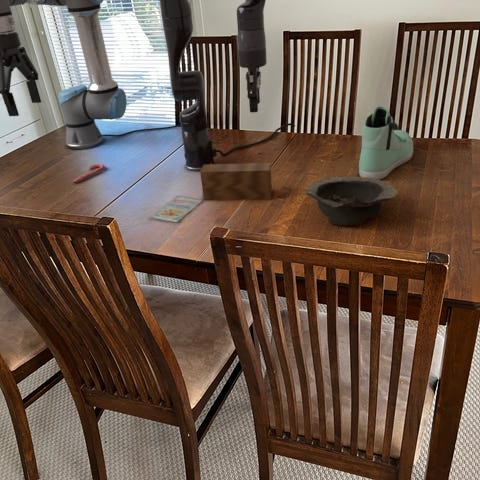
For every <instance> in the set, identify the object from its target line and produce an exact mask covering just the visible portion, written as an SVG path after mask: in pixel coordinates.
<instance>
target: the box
mask: <svg viewBox="0 0 480 480" xmlns="http://www.w3.org/2000/svg"><path fill="white" fill-rule="evenodd" d="M271 166H272V163H271V162H253V163H251V162H250V163H247V162H246V163H214V164H207V165H203V167H202V169H201V170H200V173H199V174H200V180H201V187H202V198H203V201H244V200H245V201H247V200H249V201H250V200H251V201H253V200H256V201H257V200H271V199H272V192H273V191H272V190H273V189H272V167H271Z"/></svg>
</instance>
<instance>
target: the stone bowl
mask: <svg viewBox="0 0 480 480" xmlns="http://www.w3.org/2000/svg"><path fill="white" fill-rule="evenodd" d="M394 187H395V186H392V185H391V183H388V182H385V181H384V180H382V179H372V178H367V177H361V176H351V175H350V176H348V175H342V176H337V177H335V176H333V177H326V178H323V179H319V180H315V181H312V182H311V183H310V184H308V186H307V189H306V192H304V193H305V195H308V196H309V197H311V198H312V199H314V200H316V202H317V206H318V208H319V210H320V211H321V213H322V214H323V215H324V216H326V217H327V219H328V222H329V223H330V224H332V225H339V226H345V227H349V226H351V225H353V226H359V225H362V224H364V223H365V221H366V219H372V218H374V217H378V216H379V215H380V214H381V209H382V203H384V202H387V201H389V200H391V199H393V198H395V197H397V196H398V190H397V189H396V188H394ZM341 224H342V225H341ZM348 225H349V226H348Z"/></svg>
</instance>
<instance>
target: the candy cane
mask: <svg viewBox="0 0 480 480" xmlns="http://www.w3.org/2000/svg"><path fill="white" fill-rule="evenodd" d="M88 169H89V171H90V172H88V173H85V174H83V175H81V176H79V177H76V178H74V179H73V183H75V184H77V183H79V182H81V181H85V179H88V178H90V177H92V176H95V175H96V174H98V173H101V172H103V171H104V170H105V169H106V165H104V164H102V163H95V164H92V165H90V166H89V167H88Z"/></svg>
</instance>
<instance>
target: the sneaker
mask: <svg viewBox="0 0 480 480" xmlns="http://www.w3.org/2000/svg"><path fill="white" fill-rule="evenodd" d="M361 129H362V130H361V152H360V155H359V162H358V171H359V177H367V178H372V179H379V180H382V179H384V178H386V177H387V176H389V174H390V173H392V171H393V170H395V169H396V168H398V167H400V166H401V165H404V164H405V163H407V162H408V161H410V160H411V159H412V158H413V154H414V142H413V138H412V136H411V135H410V134H409V133H408V132H407V131H406V130H403V129H399V126H398V123H396V122H394V119H393V116H391V112H390V111H389V109H388V108H387V107H385V106H383V105H377V106H376V107H375V108H374V109H373V113H371V114H369V115H368V116H367V117H366V118H365V120H364V122H363V125H362V128H361Z"/></svg>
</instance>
